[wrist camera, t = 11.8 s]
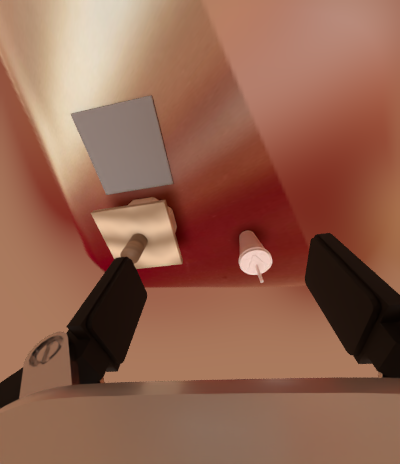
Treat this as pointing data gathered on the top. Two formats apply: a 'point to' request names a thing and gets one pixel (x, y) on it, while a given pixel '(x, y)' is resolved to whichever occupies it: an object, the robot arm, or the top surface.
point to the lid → (140, 233)
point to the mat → (125, 145)
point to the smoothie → (253, 255)
